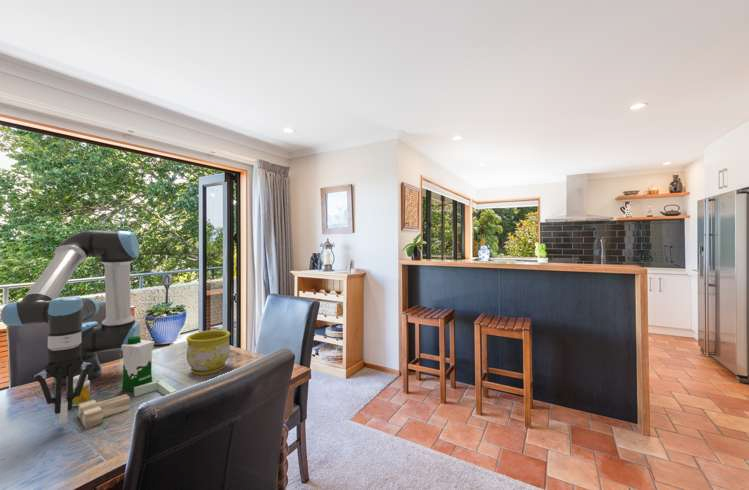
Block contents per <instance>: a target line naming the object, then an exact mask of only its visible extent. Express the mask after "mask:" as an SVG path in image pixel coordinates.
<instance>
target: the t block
mask: <svg viewBox="0 0 749 490" xmlns="http://www.w3.org/2000/svg"><path fill="white" fill-rule="evenodd" d="M130 399H131V397H130V396H129V395H128V394H127V393H125V394H121V395H119V396H115V397H112V398H109V399H105V400H101V401H98V402H97V401H96V399H90V400H89V401H86V402H83V403H79V404H78V406H77V416H78V418H79V420H80V421H81V423H82V425H83V427H84V428H85V429H88V428H91V427H94V426H97V425H100V424H103V420H104V419H103V418H106V417H108V416H112V415H114V414H118V413H120V412H124V411H127V410H129V409H130V403H131V401H130Z"/></svg>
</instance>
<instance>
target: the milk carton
mask: <svg viewBox="0 0 749 490" xmlns="http://www.w3.org/2000/svg"><path fill="white" fill-rule="evenodd" d="M154 345H155V341H154V340H153V341H152V340H145V339H141V336H140V335H139V336H136V337H130V338H128V343H127V344H124V345H122V350H121V351H122V355H123V362H122V363H123V368H122V384H121V386H122V387H121V390H122V391H126V392H134V387H137V386H140V385H144V384H147V383H150V382H153V374H152V365H153V364H152V361H153V359H152V358H153V357H152V356H153V348H154Z"/></svg>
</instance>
